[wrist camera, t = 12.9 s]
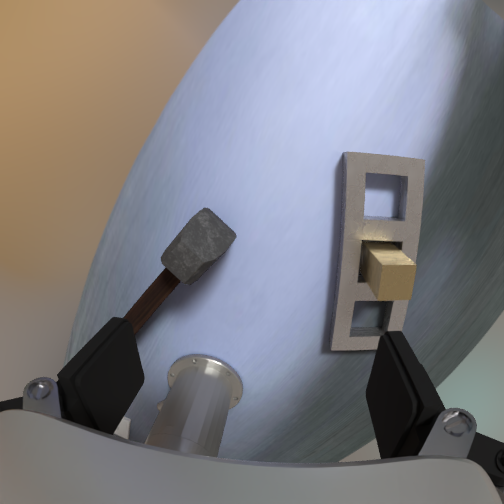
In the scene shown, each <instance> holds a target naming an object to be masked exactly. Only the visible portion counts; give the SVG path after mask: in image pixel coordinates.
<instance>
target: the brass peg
mask: <svg viewBox="0 0 504 504" xmlns="http://www.w3.org/2000/svg"><path fill="white" fill-rule="evenodd" d="M416 266H417V265H416V264H415V263H414V262H413V261H412V260H411V259H409V258H408V257H407V256H406V255H405V254H404V253H403V252H401V251H400V250H399V249H398V248H397V247H396V246H395V245H393V244H392V243H391V242H363V241H362V249H361V260H360V273H361V274H362V276H363V277H364V279H365V281H366V282H367V284H368V286H369V287H370V289H371V291H372V292H373V294H374V296H375V297H376V299H377V301H390V300H411V296H412V290H413V285H414V279H415V273H416Z"/></svg>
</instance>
